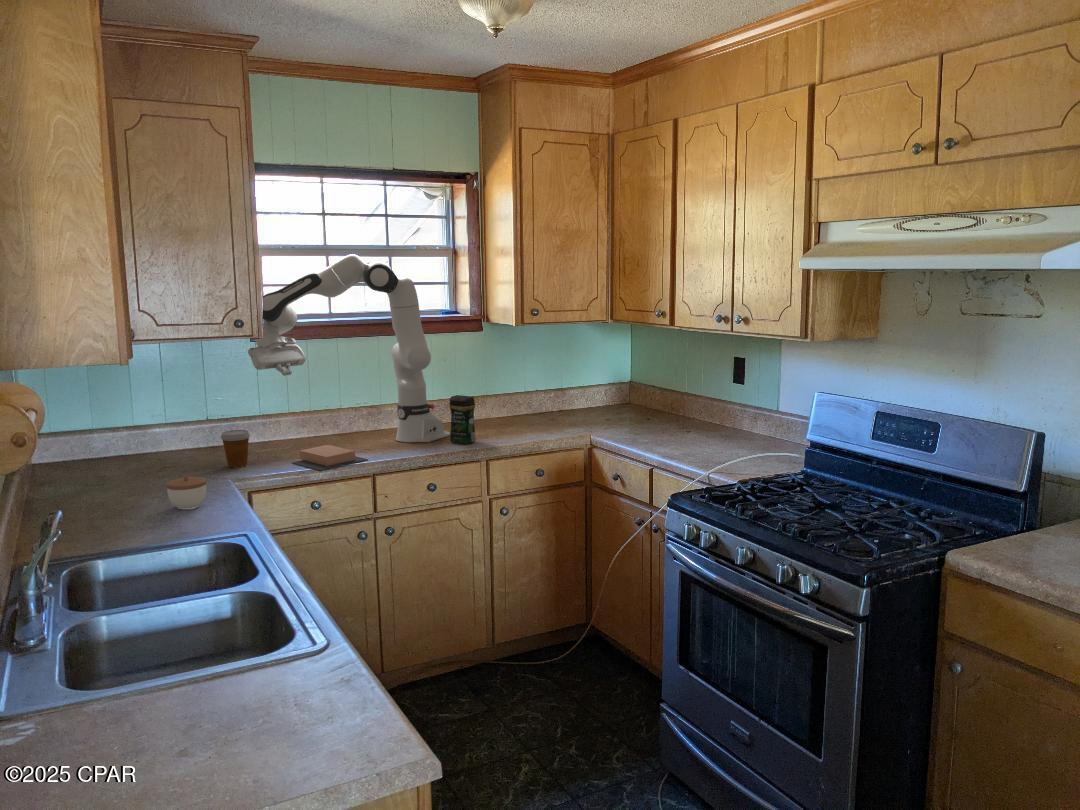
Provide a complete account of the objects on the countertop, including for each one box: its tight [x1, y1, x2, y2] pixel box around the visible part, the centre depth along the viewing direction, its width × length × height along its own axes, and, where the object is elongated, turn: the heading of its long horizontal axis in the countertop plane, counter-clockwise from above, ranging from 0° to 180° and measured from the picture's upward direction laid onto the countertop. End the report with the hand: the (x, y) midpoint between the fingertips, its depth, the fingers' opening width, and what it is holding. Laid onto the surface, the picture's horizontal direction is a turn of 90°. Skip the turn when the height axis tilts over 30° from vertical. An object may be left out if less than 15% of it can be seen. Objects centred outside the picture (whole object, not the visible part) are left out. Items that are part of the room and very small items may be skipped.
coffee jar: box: [448, 394, 476, 445], centre depth 323 cm, size 10×8×19 cm
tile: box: [299, 444, 356, 466], centre depth 296 cm, size 12×3×16 cm
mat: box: [291, 455, 369, 472], centre depth 295 cm, size 20×17×1 cm
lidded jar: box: [165, 475, 207, 509], centre depth 241 cm, size 11×11×9 cm
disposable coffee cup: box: [220, 429, 251, 468], centre depth 289 cm, size 10×10×12 cm
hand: (287, 374), depth 305 cm, fingers closed
